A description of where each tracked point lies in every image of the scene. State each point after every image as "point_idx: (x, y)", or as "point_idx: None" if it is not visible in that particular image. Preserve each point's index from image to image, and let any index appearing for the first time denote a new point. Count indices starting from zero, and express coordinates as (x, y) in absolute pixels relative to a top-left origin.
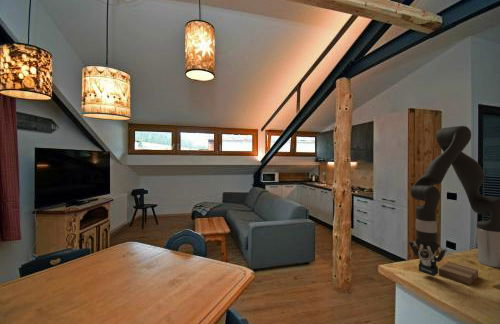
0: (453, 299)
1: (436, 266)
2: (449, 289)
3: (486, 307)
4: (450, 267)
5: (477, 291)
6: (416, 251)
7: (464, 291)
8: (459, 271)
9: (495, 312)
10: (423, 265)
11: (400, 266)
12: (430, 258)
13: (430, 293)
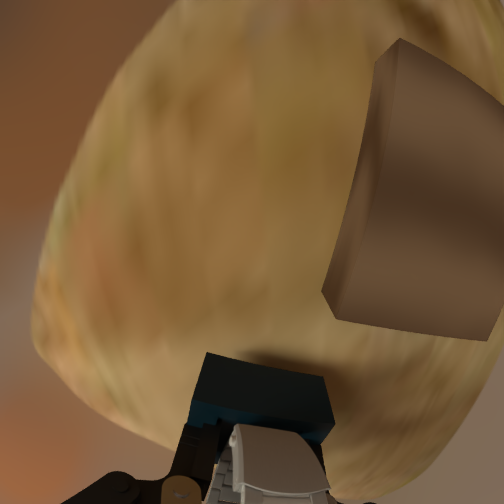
0: (350, 476)
1: (322, 430)
2: (355, 432)
3: (433, 447)
4: (433, 202)
5: (466, 359)
6: (103, 498)
7: (415, 403)
8: (475, 254)
9: (442, 450)
10: (219, 461)
11: (72, 308)
12: None
13: None
